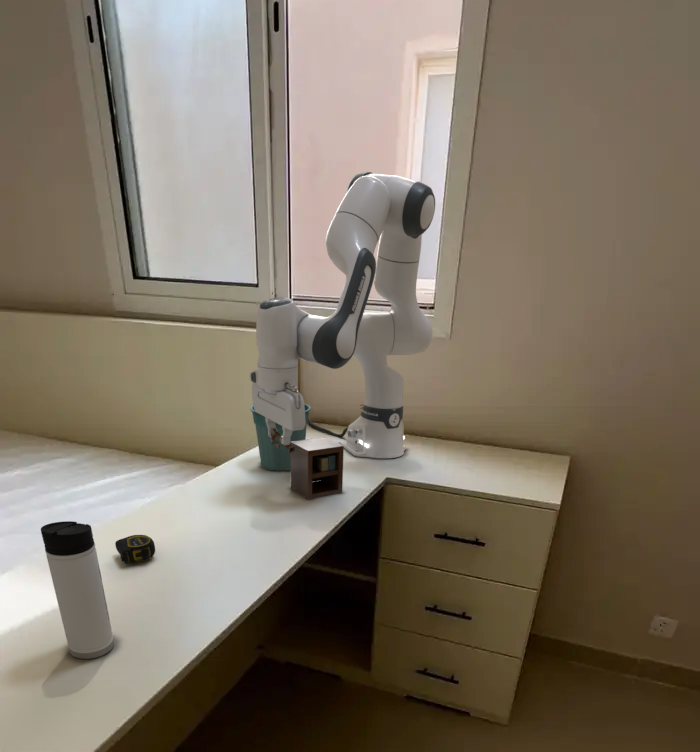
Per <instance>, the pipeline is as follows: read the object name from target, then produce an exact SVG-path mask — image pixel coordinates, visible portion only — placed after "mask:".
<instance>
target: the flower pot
mask: <svg viewBox="0 0 700 752" xmlns="http://www.w3.org/2000/svg"><path fill="white" fill-rule="evenodd" d="M304 407H305V422H306V423H305V427H304V429H303V430H296V431H293V432H292V435H291V437H290V442H292V441H300V440H307V425H308V424H309V422H308V419H309V417H310V416H309V415H310V411H311V409H312V407H311V405H309V404H307V403H305V402H304ZM249 409H250V411H251V413H252V418H253V419H252V420H253V424H254V425H255V431H256V438H257V446H258V453H259V460H260V466H261V467H262V468H264V469H266V470H270V471H275V472H276V471H277V472H280V471H281V470H285V471H286V472H290V471H291V461H290V454H289V453H288V449H287V448H286V447H285V446H284V444H282V443H281V442H280V441H279V440H278V438H277V437H276V438H275V441H276V442H278V441H279V443H280V444H281V448H277V447H276V446H275V444H274V443H273V444H271V438H272V437H270V436H269V435H268V428H267V425H266V421H265V417H264V416H262V415H261V414H259V413H257V412H256V411H255V409H254V406H253V404H251V405H250V407H249ZM275 426H276V429H277V430H278V433H279V434H280V435H283V430H282V426H281V425H279V424H277V423H276V422H275Z"/></svg>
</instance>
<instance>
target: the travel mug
mask: <svg viewBox="0 0 700 752" xmlns="http://www.w3.org/2000/svg"><path fill="white" fill-rule="evenodd" d="M40 533H41V537H42V541H43V544H44V551H45V554H46V555H45V556H46V560H47V563H48V568H49V573H50V577H51V581H52V584H53V589H54V593H55V597H56V602H57V605H58V609H59V613H60V618H61V622H62V625H63V629H64V635H65V639H66V643H67V647H68V650H69V654H70V655H71V656H73V657H74V658H77V659H80V660H81V659H83V660H91V659H96V658H100V657H102V656H105V655H106V654H108V653H109V652H111V650H112V649H113V648H114V646H115V639H114V635H113V629H112V625H111V619H110V615H109V610H108V604H107V599H106V594H105V588H104V584H103V583H104V582H103V578H102V573H101V568H100V562H99V557H98V552H97V548H96V543H95V540H94V534H93V530H92V526H91V524H89V523H86V524H85V523H79V522H77V521H71V520H67V521H56V522H51V523H48V524H45V525H43V526H41V527H40Z"/></svg>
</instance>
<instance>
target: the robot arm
mask: <svg viewBox="0 0 700 752" xmlns="http://www.w3.org/2000/svg"><path fill="white" fill-rule="evenodd" d="M435 211H436V196H435V194H434V191H433V189H432V187H430V186H429V185H427V184H425V183H424V182H421V181H414V180H412V179H410V178H407V177H403V176H400V175H395V174H392V175H390V174H382V173H373V172H371V171H363V172H358V173H356V174H355V175H354V176H353V177H352V178H351V179H350V180H349V182H348V184H347V187H346V189H345V195H344V197H343V198H342V200H341V202H340V204H339V206H338V207H337V209H336V211H335V213H334V215H333V218H332V220H331V222H330V224H329V226H328V228H327V232H326V236H325V242H324V243H325V249H326V252H327V255H328V257H329V259H330V260H331V262H332V264H333V265H334V266H335V267H336V268H337V269H338V270H339V271H340V272H341V273H343V274H344V275H345V281H344V285H343V288H342V291H341V294H340V297H339V301H338V304H337V307H336V309H335V311H334V313H332V314H331V315H329V316H322V315H321V316H320V315H316V314H312V313H311V314H310V313H309V312H306V310H302V309H301V308H300V307H299V306H297V305H296V304H295V302H294V300H293V299H291V298H289V297H271V298H268V299H266V300H263V301H262V302H261V303H260V304H259V306H258V307H257V313H256V321H255V324H256V326H255V333H256V338H255V339H256V347H257V351H258V359H257V365H256V366H257V369H255V370H252V371H250V372H249V380H250V383H252V384H251V395H252V405H253V406H254V409H255V411H256V412H257V413H259V414H261V415H262V416H264V417H265V421H266V425H267V428H268V435H269V436H270V437H272V432H271V428H276V426H275V422H276V423H277V424H279V425H281V426H282V430H283V435H282V436H281V443H282V444H284V445H289V444H290V437H291V435H292V432H293V431H296V430H303V429H304V427H305V423H306V422H305V407H304V403H305V400H304V397H303V395H302V394H301V393H300V390H299V388H298V360H299V359H300V360H303V361H306V362H309V363H315V364H318V365H321V366H324V367H327V368H329V369H332V370H337V369H340V368H342V367H344V366H346V364H348V362H349V361H350V360H351V359H352V358H353V356H354V357H355V358H356V360H357V361H358V363H359V364H360V366H361V368H362V371H363V375H364V384H365V385H364V387H365V388H364V392H365V393H364V403H363V404H360V405H359V406H360V407H359V410H361V412H360V416H359V417H358V418H356V419H355V420H354V421H353V422H351V423H350V424H348V425H347V427H345V428H344V429H343V431H342V432H341V433H336V432H334V431H331V430H329V429H327V428H325V427H321V426H319V425H317V424H315V423H313V421H312V420H311V419H309V418H308V424H309V425H310V426H311V427H313V428H314V429H316V430H318V431H321V432H324V433H326V434H328V435H331V436H333V437H337V438H343V437H345V435H346V438H343V439H340V440H339V441H338V444H340V445H343V446H344V449H345V450H346V451H347V452H349V453H350V454H352V455H353V456H354V457H360V458H371V459H395V458H399V457H402V456H403V455H404V454H405V451H406V449H407V446H406V445H405V441H404V440H405V439H406V436H405V433H404V432H405V431H404V429H405V426H404V422H403V421H402V420H403V418H404V405H403V397H404V385H405V382H404V378H403V376H402V375H401V373H400V372H398V371H397V370H395V369H394V368H393V367H391V366H389V365H388V361H387V356H412V355H416V354H421V353H424V352H425V351H426V350H427V349H428V348H429V346H430V345H431V342H432V340H433V326H432V324H431V321H430V320H429V318H428V317H427V316H426V315H425V314H424V313H423V311H422V310H421V308H420V305H419V303H418V298H417V282H418V272H419V271H418V270H419V265H420V259H421V258H420V257H421V250H422V236H423V234H424V233H425V232H426V231H427V230H428V229H429V228H430V226H431V224H432V222H433V219H434V216H435ZM377 245H378V246H377ZM376 248H377V253H376V257H375V256H374V255H375V254H374V253H375V250H376ZM373 285H374V289H375V292H377V294H378V295H379V296H380V297H381V298H383V299H384V300H385V301H387V302H388V303H390V311H388V312H383V311H382V312H379V311H375V312H374V311H365V309H366V307H367V303H368V301H369V297H370V294H371V291H372V288H373ZM277 431H278V430H277ZM275 437H276V436H275Z"/></svg>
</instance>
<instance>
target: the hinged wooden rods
mask: <svg viewBox="0 0 700 752" xmlns="http://www.w3.org/2000/svg"><path fill="white" fill-rule="evenodd" d="M271 432H272V438H271V444H273V443H274V444H275V446H276V447H277V448H281V444H280V443H279V441H280V442H281V436H282V435H280V434H279V433H278V431H277V429H276V428H271ZM275 436H276V437H277V438H278V440H279V441H278V442H276V441H275V438H276V437H275ZM284 446H285V447H286V448H287V449H288V453H289V454H290V453H293V452H295V447H296V446H295V445H293V446H292V445H291V444H289V445H284Z"/></svg>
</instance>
